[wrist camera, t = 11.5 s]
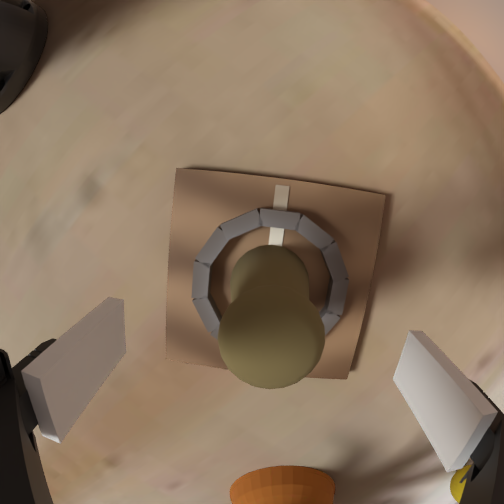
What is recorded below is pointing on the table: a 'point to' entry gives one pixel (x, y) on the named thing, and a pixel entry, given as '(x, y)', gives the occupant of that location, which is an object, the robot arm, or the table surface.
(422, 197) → the table surface
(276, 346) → the olive round stacked cylinder
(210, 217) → the socket board
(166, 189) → the table surface
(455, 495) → the lemon
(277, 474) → the decorative plant
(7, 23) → the robot arm
